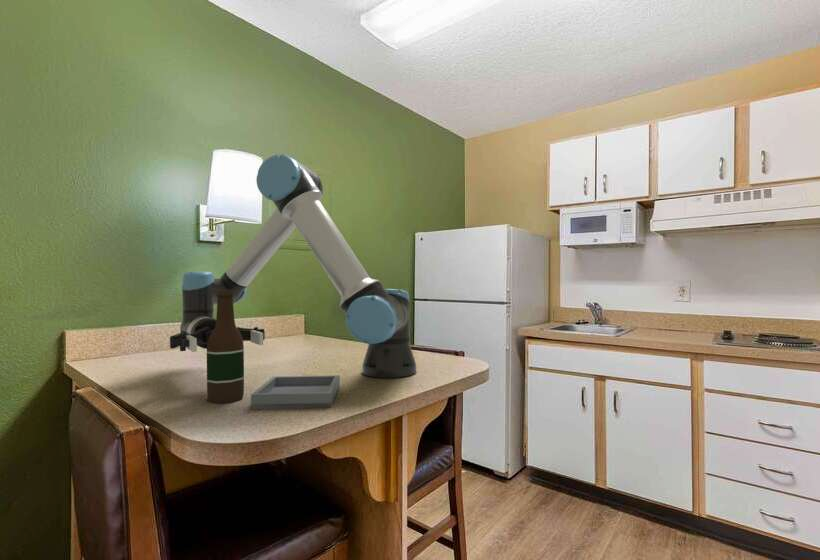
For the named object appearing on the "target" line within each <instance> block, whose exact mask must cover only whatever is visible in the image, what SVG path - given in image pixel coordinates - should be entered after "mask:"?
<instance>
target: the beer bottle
mask: <svg viewBox="0 0 820 560" xmlns="http://www.w3.org/2000/svg"><path fill="white" fill-rule="evenodd" d="M216 296H217V297H218V299H217V304H216V305H217V306H216V316H215V317H216V325H215V329H214V330H213V332H212V333H211V335H210V337H209V340H208V342H207V349H206V396H207V402H208V403H209V404H215V405H221V404H233V403H235V402H238V401H241V400H242V399H243V398H244V393H245V355H244V353H245V347H244V341H243V338H242V336H241V333H240V332H239V330H238V329H237V325H236V322H235V309H234V303H233V296H234V293H233V291H231V290H221V291H217V294H216Z"/></svg>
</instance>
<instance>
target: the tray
mask: <svg viewBox="0 0 820 560" xmlns="http://www.w3.org/2000/svg"><path fill="white" fill-rule="evenodd" d="M340 378H341V375H340V374H337V375H336V374H335V375H334V374H333V375H290V376H289V375H287V376H286V375H283V376H279V375H278V376H274V375H273V376H272V377H270V378H269V379H268V380H267V381H265V382H264V383H263V384H262V385H261V386H260V387H259V388H257V389H256V390H255V391H254V392H253V393H251V394H250V409H251V410H286V409H287V410H288V409H289V410H291V409H295V410H296V409H324V408H325V409H330V408H332V407H333V406H332V405H333V403H334V402H335V399H336V397H337V395H338V393H339V390H340V388H341V379H340Z"/></svg>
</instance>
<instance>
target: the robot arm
mask: <svg viewBox="0 0 820 560" xmlns="http://www.w3.org/2000/svg"><path fill="white" fill-rule="evenodd" d="M256 186H257V188H258V192H260V194H261V195H262V196H263V197H264V198H266V199H267V200H269V201H272V202H273V204H274V205H275V207H276V209H275V210H274V211H273V212H272V213H271V215H270V216H269V218H268V219H267V220H266V221H265V222H264V224H263V225H262V226H261V228H260V229H258V231H257V233H256V234H255V235H254V236H253V237H252V238H251V240H250V241H249V242H248V243H247V245H246V246H245V247H244V248H243V250H242V251H241V252H240V253H239V255H237V257H236V258H235V259H234V261H232V264H230V266H229V267H228V268H227V270H225V272H224V273H222V275H221V276H220V278H214V274H213V273H212V272H211V271H185V272H184V273H183V274H182V285H181V290H182V293H181V294H182V321H181V322H180V325H179V330H180V332H179V333H176V334H174V335H171V336H169V349H175V348H178V347H179V352H186V351H187V350H189V351H191V352H192V353H196V352H197V351H198V347H200V348H201V349H205V350H207V342H208V340H209V337H210V335H211V333H212V332H213V330H214V329H215V325H216V319H215V318H214V306H215V305H217V299H218V297H217V296H216V294H217V291H221V290H231V291H233V293H234V296H233V304H235V303H240V302H241V301H242V300H244V299H245V297H246V296H247V291H248V288H247V287H248V286H249V284H250V283H251V282H252V281H253V280H254V279H255V277H256V276H257V275H258V274H259V272H260V271H261V270H262V269H263V268H264V266H265V265H266V264H267V263H268V261H269V260H270V259H271V258H272V257H273V256H274V255H275V253H276V252H277V251H278V250H279V248H280V247H281V246H282V245H283V244H284V242H285V241H286V240H287V239H288V238H289V236H290V235H291V234H292V233H293V232H294V231H295V229H296V228H297V230H298V232H300V235H301V236H302V238H303V240H304V241H305V243H306V244H307V246H308V247H309V249H310V250H311V252H312V253H313V254H314V257H315V258H316V259H317V261H318V262H319V264H320V265H321V267H322V269H323V271H324V272H325V274H326V275H327V276H328V279H329V280H330V281H331V283H332V284H333V286H334V287H335V289H336V291H337V292H338V293H339V296H340V303H339V307H340V308H341V310H342V311H343V313H344V314H345V324H346V327H347V330H348V332H349V333H350V334H351V336H352V337H353V338H354V339H356V340H357V341H359V342H361V343H363V344H367V349H366V352H365V356H364V359H363V362H362V365H361V366H362V369H361V373H362V374H363V375H365V376H368V377H371V378H382V379H383V378H384V379H385V378H387V379H391V378H393V379H394V378H402V377H408V376H412V375H414V374H416V373H417V362H416V360H415V356H414V353H413V351H412V347H411V337H410V335H411V334H410V332H411V331H410V330H411V329H410V327H411V326H410V323H411V321H410V320H411V319H410V308H411V307H410V305H411V299H410V293H409V292H408V291H407V290H404V289H396V288H385V287H384V286H383V284H382V283H381V281H380V280H379V279H375V278H374V279H373V278H372V277H370V276H369V274H368V273H367V270H366V269H365V268H364V266H363V265H362V263H361V262H360V260H359V259H358V257H357V256H356V254H355V253H354V251H353V250H352V248H351V247H350V245H349V244H348V242H347V241H346V238H345V237H344V236H343V234H342V233H341V231H340V230H339V228H338V226H337V225H336V223H335V222H334V220H333V219H332V217H331V216H330V214H329V213H328V211H327V210H326V208H325V207H324V205H323V204H322V198H323V191H324V189H323V188H324V187H323V183H322V179H321V178H320V176H319V175H318V173H316V172H315V171H314V170H312V168H310V167H307V166H305V165H304V164H302V163H300V162H299V161H298V160H296V158H294V157H292V156H290V155H289V156H288V155H285V154H273V155H270V157H267V158H266V159H264V161H263V162H262V164H261V165H260V166H259V168H258V170H257V175H256ZM236 327H237V326H236ZM237 329H238V330H239V332H240V333H241V336H242V338H243V342H246V341H248V342H250V343H253V344H256V345H258V346H263V345H264V340H265V336H266V335H265V334H266V333H265V329H264V328H259V327H258V326H254V327H253V328H245V327H239V326H238V327H237ZM186 349H187V350H186Z"/></svg>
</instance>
